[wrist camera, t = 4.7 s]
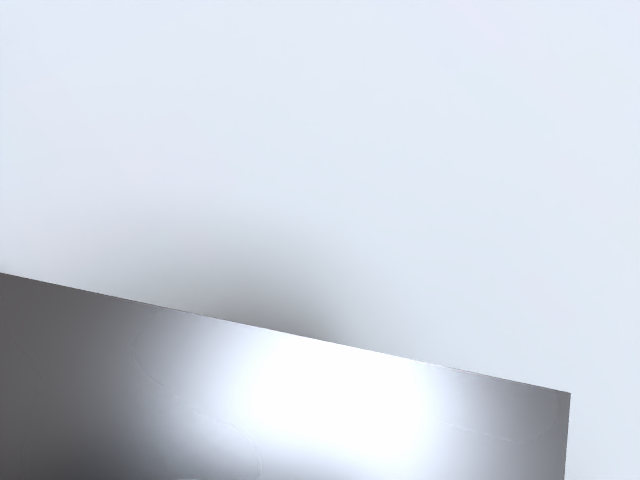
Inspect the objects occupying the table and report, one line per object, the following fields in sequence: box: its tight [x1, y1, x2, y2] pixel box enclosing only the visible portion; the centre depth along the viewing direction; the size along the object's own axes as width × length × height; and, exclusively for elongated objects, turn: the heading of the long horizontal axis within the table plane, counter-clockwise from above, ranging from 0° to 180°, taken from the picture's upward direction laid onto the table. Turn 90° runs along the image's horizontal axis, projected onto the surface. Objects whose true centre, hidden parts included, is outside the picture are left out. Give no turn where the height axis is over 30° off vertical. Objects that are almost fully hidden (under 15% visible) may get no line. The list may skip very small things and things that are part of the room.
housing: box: [0, 273, 571, 480], centre depth 9 cm, size 5×5×13 cm
